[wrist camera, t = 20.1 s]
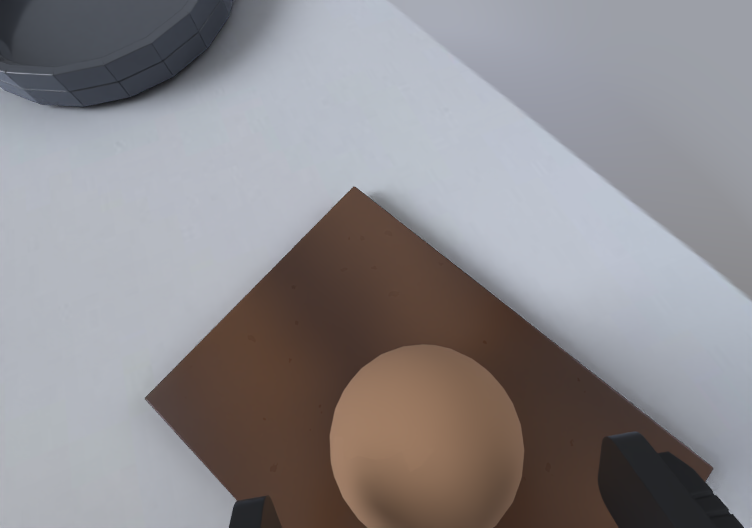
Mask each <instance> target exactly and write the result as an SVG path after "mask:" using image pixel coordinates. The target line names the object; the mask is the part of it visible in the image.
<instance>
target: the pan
mask: <svg viewBox="0 0 752 528" xmlns="http://www.w3.org/2000/svg"><path fill="white" fill-rule="evenodd" d="M232 4H233V0H0V87H1V88H2V89H4V90H5V91H8V92H10V93H13V94H15V95H18V96H21V97H23V98H26V99H28V100H31V101H34V102H36V103H39V104H45V105H62V106H79V107H85V106H90V105H95V104H100V103H105V102H109V101H114V100H119V99H124V98H129V97H130V96H131V97H132V96H134V95H136V94H138V93H141V92H143V91H145V90H147V89H149V88H151V87H153V86H155V85H157V84H159V83H162V82H164V81H166V80H168V79H170V78H172V77H173V76H175V75H176V74H177V73H179V72H180V71H181V70H182V69H183V68H185V67H186V66H187V65H188V64H190V63H191V62H192V61H193V60H194V59H196V58H197V57H198V56H199V55H200V54H202V53H203V52H204V51H205V50H206V49H207V48H208V47H209V46H210V44H211V43H212V41H213V40H214V38H215V37H216V36H217V34H218V33H219V31H220V30H221V28H222V27H223V25H224V24H225V22H226V21H227V19H228V18H229V15H230V11H231V7H232Z"/></svg>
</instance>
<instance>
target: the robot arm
mask: <svg viewBox="0 0 752 528" xmlns="http://www.w3.org/2000/svg"><path fill="white" fill-rule="evenodd" d="M598 486H599V490H600V494H601V496H602V499H603V501H604V503H605V505H606V507H607V509H608V511H609V512H610V514H611V516H612V517H613V519H614V521H615V522H616V524H617V526H618V527H619V528H744V527H743V526H742V525H741V523H740V522H739V521H738V520H737V519H736V518H735V516H734V515H733V514H732V515H731V514H730V513H729V511H728V510H729V509H728V508H727V507H726V506H725V505H724V504H723V502H722V501H721V500H720V499H719V498H718V497H717V496H716V495H714V494H713V492H712V490H711V489H710V487H709V486H708V485H707V484H706V483H705V482H704V480H703V479H702V478H701V477H700V476H699V475H698V473H697V472H696V471H695V470H694V469H693V468H692V467H690V466H689V465H687V464H686V463H685V462H683V461H682V460H680V459H679V458H677V457H676V456H674V455H673V454H672V453H670V452H669V451H668V452H662V453H657V452H656V451H655V450H654V448H653V447H652V446H651V445H650V443H649V442H648V441H647V440H646V438H645V437H644V436H643V435H642V434H640V433H639V432H636V431H634V432H628V433H623V434H617V435H612V436H606V437H604V438H603V440H602V445H601V453H600V462H599V471H598ZM229 528H282V526H281V523H280V521H279V518H278V515H277V513H276V510H275V507H274V505H273V502H272V499H271V497H270V496H269V495H267V496H261V497H255V498H250V499H244V500H239V501H237V502H236V503H235V505H234V507H233V511H232V516H231V520H230V525H229Z"/></svg>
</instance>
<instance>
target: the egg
mask: <svg viewBox="0 0 752 528" xmlns="http://www.w3.org/2000/svg"><path fill="white" fill-rule="evenodd" d="M330 456H331V465H332V470H333V474H334V477H335V480H336V482H337V485H338V487H339V489H340V492H341V494H342V497H343V498H344V500H345V501H346V503H347V504H348V506H349V507H350V508H351V510H352V511H353V513H354V514H355V515H356V517H357V518H358V519H359V520H360V521H361V522H362V523H363V524H364V525H365V526H366V527H367V528H493V527H495V526H496V525H497V523H498V522H499V521H500V519H501V518H502V517H503V515H504V514H505V512H506V511H507V510H508V508H509V507H510V506H511V504H512V503H513V501H514V498H515V495H516V492H517V489H518V487H519V484H520V481H521V478H522V470H523V460H524V444H523V437H522V430H521V424H520V421H519V419H518V416H517V413H516V411H515V408H514V405H513V403H512V401H511V400H510V398H509V396H508V395H507V393H506V391H505V390H504V388H503V387H502V386H501V385H500V383H499V382H498V381H497V380H496V379H495V378H494V377H493V375H492V374H491V373H490V372H489V371H487V370H486V369H485V368H484V367H483V366H481V365H480V364H479V363H477V362H476V361H475V360H473V359H472V358H469V357H467V356H465V355H463V354H461V353H459V352H457V351H455V350H452V349H450V348H445V347H441V346H437V345H424V344H421V345H411V346H403V347H400V348H397V349H394V350H392V351H389V352H386V353H383V354H381V355H380V356H378V357H377V358H375V359H374V360H372V361H371V362H369V363H368V364H367V365H365V366H364V367H362V368H361V369H360V371H359V372H358V373H357V374H356V375H355V376H354V377H353V379H352V380H351V381H350V382H349V384H348V385H347V387H346V388H345V389H344V391H343V393H342V395H341V397H340V400H339V402H338V404H337V406H336V408H335V412H334V416H333V421H332V426H331V431H330Z"/></svg>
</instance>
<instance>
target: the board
mask: <svg viewBox="0 0 752 528" xmlns="http://www.w3.org/2000/svg"><path fill="white" fill-rule="evenodd" d="M421 344H424V345H437V346H441V347H445V348H450V349H452V350H455V351H457V352H459V353H461V354H463V355H465V356H467V357H469V358H472V359H473V360H475V361H476V362H477V363H479V364H480V365H481V366H483V367H484V368H485V369H486V370H487V371H489V372H490V373H491V374H492V375H493V377H494V378H495V379H496V380H497V381H498V382H499V383H500V385H501V386H502V387H503V388H504V390H505V391H506V393H507V395H508V396H509V398H510V400H511V401H512V403H513V405H514V408H515V411H516V413H517V416H518V419H519V421H520V424H521V430H522V437H523V444H524V460H523V470H522V478H521V481H520V484H519V487H518V489H517V492H516V495H515V498H514V501H513V503H512V504H511V506H510V507H509V508H508V510H507V511H506V512H505V514H504V515H503V517H502V518H501V519H500V521H499V522H498V523H497V525H496V526H495V527H493V528H619V527H618V526H617V524H616V522H615V521H614V519H613V517H612V516H611V514H610V512H609V511H608V509H607V507H606V505H605V503H604V501H603V499H602V496H601V494H600V490H599V486H598V471H599V462H600V453H601V445H602V440H603V438H604V437H606V436H612V435H617V434H623V433H628V432H634V431H636V432H639V433H640V434H642V435H643V436H644V437H645V438H646V440H647V441H648V442H649V443H650V445H651V446H652V447H653V448H654V450H655V451H656V452H657V453H662V452H668V451H669V452H670V453H672V454H673V455H674V456H676V457H677V458H679V459H680V460H682V461H683V462H685V463H686V464H687V465H689V466H690V467H692V468H693V469H694V470H695V471H696V472H697V473H698V475H699V476H700V477H701V478H702V479H703V480H704V482H706V480H707V478H708V477H709V475H710V473H711V472H712V470H713V467H712V466H711V465H710V464H708V463H707V462H706V461H705V460H703V459H702V458H701V457H699V456H698V455H697V454H696V453H694V452H693V451H692V450H691V449H689V448H688V447H687V446H685V445H684V444H683V443H682V442H680V441H679V440H678V439H676V438H675V437H674V436H673V435H671V434H670V433H669V432H668V431H666V430H665V429H664V428H662V427H661V426H660V425H659V424H657V423H656V422H655V421H653V420H652V419H651V418H650V417H648V416H647V415H646V414H645V413H643V412H642V411H641V410H639V409H638V408H637V407H636V406H634V405H633V404H632V403H631V402H629V401H628V400H627V399H625V398H624V397H623V396H622V395H620V394H619V393H618V392H616V391H615V390H614V389H613V388H611V387H610V386H609V385H608V384H606V383H605V382H604V381H602V380H601V379H600V378H599V377H597V376H596V375H595V374H593V373H592V372H591V371H590V370H588V369H587V368H586V367H585V366H583V365H582V364H581V363H579V362H578V361H577V360H576V359H574V358H573V357H572V356H571V355H569V354H568V353H567V352H565V351H564V350H563V349H562V348H560V347H559V346H558V345H556V344H555V343H554V342H553V341H551V340H550V339H549V338H548V337H546V336H545V335H544V334H542V333H541V332H540V331H539V330H537V329H536V328H535V327H533V326H532V325H531V324H530V323H528V322H527V321H526V320H525V319H523V318H522V317H521V316H519V315H518V314H517V313H516V312H514V311H513V310H512V309H511V308H509V307H508V306H507V305H505V304H504V303H503V302H502V301H500V300H499V299H498V298H496V297H495V296H494V295H493V294H491V293H490V292H489V291H488V290H486V289H485V288H484V287H482V286H481V285H480V284H479V283H477V282H476V281H475V280H474V279H472V278H471V277H470V276H468V275H467V274H466V273H465V272H463V271H462V270H461V269H459V268H458V267H457V266H456V265H454V264H453V263H452V262H451V261H449V260H448V259H447V258H445V257H444V256H443V255H442V254H440V253H439V252H438V251H436V250H435V249H434V248H433V247H431V246H430V245H429V244H428V243H426V242H425V241H424V240H422V239H421V238H420V237H419V236H417V235H416V234H415V233H414V232H412V231H411V230H410V229H408V228H407V227H406V226H405V225H403V224H402V223H401V222H399V221H398V220H397V219H396V218H394V217H393V216H392V215H391V214H389V213H388V212H387V211H385V210H384V209H383V208H382V207H380V206H379V205H378V204H376V203H375V202H374V201H373V200H371V199H370V198H369V197H368V196H366V195H365V194H364V193H362V192H361V191H360V190H359V189H357V188H356V187H353V188H352V189H351V190H350V191H349V192H348V193H347V194H346V195H345V196H344V197H343V198H342V199H341V200H340V201H339V202H338V203H337V204H336V205H335V206H334V207H333V208H332V209H331V210H330V211H329V212H328V213H327V214H326V215H325V216H324V217H323V218H322V219H321V220H320V221H319V222H318V223H317V224H316V225H315V226H314V227H313V228H312V229H311V230H310V231H309V232H308V233H307V234H306V235H305V236H304V237H303V238H302V239H301V240H300V241H299V242H298V243H297V244H296V245H295V246H294V248H293V249H292V250H291V251H290V252H289V253H288V254H287V255H286V256H285V257H284V258H283V259H282V260H281V261H280V262H279V263H278V264H277V265H276V266H275V267H274V268H273V269H272V270H271V271H270V272H269V273H268V274H267V275H266V276H265V277H264V278H263V279H262V280H261V281H260V282H259V283H258V284H257V285H256V286H255V287H254V288H253V289H252V290H251V291H250V292H249V293H248V294H247V295H246V296H245V297H244V298H243V299H242V300H241V301H240V302H239V303H238V304H237V305H236V306H235V307H234V308H233V309H232V310H231V311H230V312H229V313H228V314H227V315H226V316H225V317H224V318H223V319H222V320H221V321H220V322H219V323H218V325H217V326H216V327H215V328H214V329H213V330H212V331H211V332H210V333H209V334H208V335H207V336H206V337H205V338H204V339H203V340H202V341H201V342H200V343H199V344H198V345H197V346H196V347H195V348H194V349H193V350H192V351H191V352H190V353H189V354H188V355H187V356H186V357H185V358H184V359H183V360H182V361H181V362H180V363H179V364H178V365H177V366H176V367H175V368H174V369H173V370H172V371H171V372H170V373H169V374H168V375H167V376H166V377H165V378H164V379H163V380H162V381H161V382H160V383H159V384H158V385H157V386H156V387H155V388H154V389H153V390H152V391H151V392H150V393H149V394H148V395H147V396H146V397H145V400H146V401H147V402H148V403H149V404H150V405H151V406H152V407H153V408H154V410H155V411H156V412H157V413H158V414H159V415H160V416H161V417H162V418H163V419H164V421H165V422H166V423H167V424H168V425H169V426H170V427H171V428H172V429H173V430H174V432H175V433H176V434H177V435H178V436H179V437H180V438H181V439H182V440H183V441H184V443H185V444H186V445H187V446H188V447H189V448H190V449H191V450H192V451H193V452H194V454H195V455H196V456H197V457H198V458H199V459H200V460H201V461H202V462H203V464H204V465H205V466H206V467H207V468H208V469H209V470H210V471H211V472H212V473H213V475H214V476H215V477H216V478H217V479H218V480H219V481H220V482H221V483H222V484H223V486H224V487H225V488H226V489H227V490H228V491H229V492H230V493H231V494H232V495H233V497H234V498H235V499H236V500H237V501H239V500H244V499H250V498H255V497H261V496H267V495H269V496H270V497H271V499H272V502H273V505H274V507H275V510H276V513H277V515H278V518H279V521H280V523H281V526H282V528H367V527H366V526H365V525H364V524H363V523H362V522H361V521H360V520H359V519H358V518H357V517H356V515H355V514H354V513H353V511H352V510H351V508H350V507H349V506H348V504H347V503H346V501H345V500H344V498H343V497H342V494H341V492H340V489H339V487H338V485H337V482H336V480H335V477H334V474H333V470H332V465H331V456H330V431H331V426H332V421H333V416H334V412H335V408H336V406H337V404H338V402H339V400H340V397H341V395H342V393H343V391H344V389H345V388H346V387H347V385H348V384H349V382H350V381H351V380H352V379H353V377H354V376H355V375H356V374H357V373H358V372H359V371H360V369H361V368H362V367H364V366H365V365H367V364H368V363H369V362H371V361H372V360H374V359H375V358H377V357H378V356H380V355H381V354H383V353H386V352H389V351H392V350H394V349H397V348H400V347H403V346H411V345H421Z"/></svg>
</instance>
